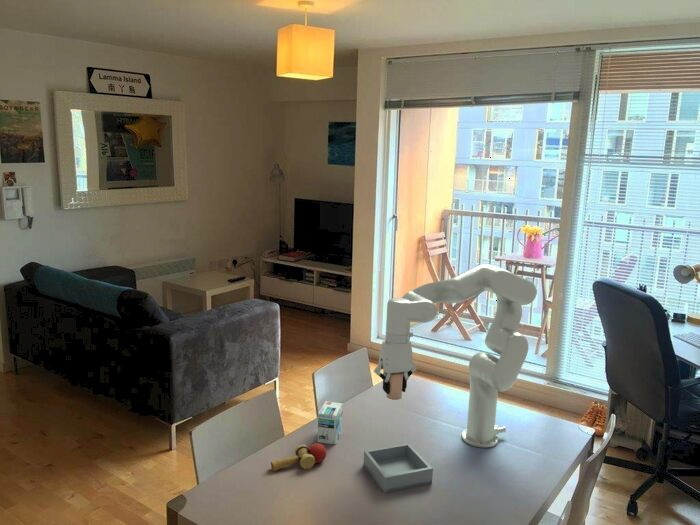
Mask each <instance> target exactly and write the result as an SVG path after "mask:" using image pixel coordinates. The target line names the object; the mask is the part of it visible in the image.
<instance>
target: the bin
mask: <svg viewBox="0 0 700 525" xmlns="http://www.w3.org/2000/svg"><path fill="white" fill-rule="evenodd" d="M363 466H364V468H365V469H366V471H367V472H368V473H369V475H370V476H371V477H372V479H373V480H374V482H376V484H377V485H378V487H379V488H380V490H382V492H383V493H384V494H387V493H392V492H396V491H401V490H407V489H411V488H415V487H422V486H426V485H431V484H433V476H434V468H433V466H432V465H431V464H429V462H427V461H426V459H424V457H423V455H421V454H420V453H419V452H418V451H417V450H416V449H415V448H414V447H413V445H411V444H410V443H403V444H402V443H401V444H398V445H397V444H396V445H392V446H385V447H380V448H374V449H367V450H364V451H363Z"/></svg>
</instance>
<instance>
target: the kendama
mask: <svg viewBox="0 0 700 525" xmlns="http://www.w3.org/2000/svg"><path fill="white" fill-rule="evenodd" d="M294 452H295V453H294V454H295V455H294V456H288V457H285V458H281V459H278V460H273V461H271V462H270V468H271V470H272V469H273V470H272V472H276V471H277V470H280V469H284V468H286V467H287V466H291V465H293V464H295V463H297V462H299V465H300V467H301V468H302V469H304V470H307V469H306V468H308V469H311V468H313V467H314V465H315V464H319V463H321V462H324V460H325V458H326V456H327V448H326V447H325V446H324V445H323V443H320V442H316V443H313V444H312V445H310V446H309V447H308V446H307V445H305V444H300V445H298V446H296V448H295V451H294Z"/></svg>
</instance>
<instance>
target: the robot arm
mask: <svg viewBox="0 0 700 525" xmlns="http://www.w3.org/2000/svg"><path fill="white" fill-rule="evenodd" d="M537 290H538V289H537V287H536V285H535V283H533V282H532V281H531V280H528V279H527V278H524V277H523V276H520V275H517V274H515V273H513V272H511V271H509V270H506V269H504V268H501V267H498V266H495V265H492V264H489V263H482V264H479V265H477V266H476V265H475V266H474V267H472V268H470V269H468V270H465V271H464V272H462V273H460V274H458V275H455V276H454V277H452V278H448V279H442V280H438V281H434V282H430V283H424V284H422V285H420V286H417V287H415V288H413V289H411V290H409V291H408V292H406V293H405V294H404V295H402V297H393V298H390V299H389V300H388V301H387V304H386V322H385V338H384V340H382V343H381V346H380V351H379V358H378V365H377V366H376V367H375V369H374V370H373V373H374V374H376V375H377V376H378V377H380V379H382V390H383V392H384V393H385V394H389V392H390V382H389V378H390V374H391V373H399V372H403V386H402V393H406V390H407V388H408V387H407V383H408V380H409V378H410V376H412V374H413V373H414V372H415V371H417V369H418V367H417V366H416V364H415V363H414V361H413V347H412V346H413V345H412V342H411V340H410V339H411V338H412V337H414V333H413V332H410V331H411V323H420V324H423V323H424V324H426V323H429V322H432V321H433V320H435V318H436V317H437V314H438V307H437V306H436V304H439V303H446V304H447V303H448V304H459V303H463V302H465V301H467V300H470V299H472V298H473V297H475V296H477V295H480V294H481V293H483V292H490V293H493V294H495V296H496V299H497V300H496V301H497V309H496V312H495V316H494V318H493V320H492V322H491V323H490V326H489V329H488V330H487V333H486V336H485V339H484V343H485V344H484V345H485V346H486V347H487V349H489V350H490V351H492V352H494V353H496V354H497V355H499V358H498V357H496V356H494V355H492V354H490V353H488V352H483V351H482V352H481V351H480V352H476V353H475V354H474V355H473V356H471V358H470V360H469V363H468V374H469V397H468V408H467V420H466V421H467V423H466V429H464V430H463V431H462V432H461V439H462V440H463V441H464V443H466V444H468V445H470V446H472V447H476V448H477V447H478V448H492V447H495V446H496V445H497V444H498V443H499V437H498V435H499V434H502V433H506V432H507V431H506V430H507V429H506V427H505V426H500V427H499V425H497V424H496V418H497V417H496V416H497V403H498V391H499V392H507V390H509V389H511V387H512V386H514V384H515V382H516V381H517V378H518V376H519V374H520V371H521V369H522V367H523V365H524V362H525V361H526V358H527V356H528V352H529V342H528V339H527V337H526V336H524V335H523V334H522V333H520V332H518V328H519V326H520V323H521V321H522V317H523V307H522V306H527V305H530V304H532V303H533V302H534V301H535V299H536V297H537V292H538V291H537ZM381 371H383V372H381Z"/></svg>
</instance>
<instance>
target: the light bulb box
mask: <svg viewBox="0 0 700 525" xmlns="http://www.w3.org/2000/svg"><path fill="white" fill-rule="evenodd" d="M343 407H344V403H342V402H341V403H340V402H332V401H327V400H326V401H324V403H323V404H322V405H321V408H320V409H319V411H318V414H317V417H318V418H317V443H320V444H329V445H336V444H337V443H338V441H339V438H340V436H341V434H342V432H343V413H344V412H343V409H344V408H343Z"/></svg>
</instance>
